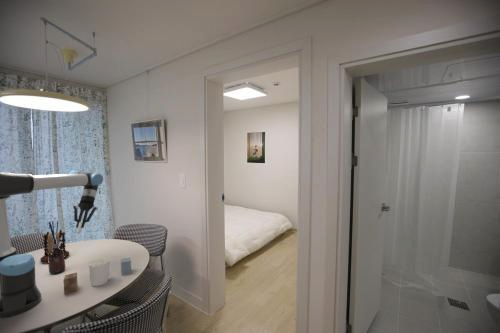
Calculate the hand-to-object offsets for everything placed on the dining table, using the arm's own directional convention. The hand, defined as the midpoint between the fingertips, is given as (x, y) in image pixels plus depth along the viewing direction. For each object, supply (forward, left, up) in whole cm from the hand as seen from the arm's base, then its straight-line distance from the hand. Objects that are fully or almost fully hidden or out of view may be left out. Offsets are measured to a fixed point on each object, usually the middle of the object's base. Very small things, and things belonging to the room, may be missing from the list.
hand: (78, 233), depth 135 cm
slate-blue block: (+24, -19, -24) cm, 39 cm away
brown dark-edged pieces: (-16, +27, -24) cm, 39 cm away
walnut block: (-2, -23, -24) cm, 33 cm away
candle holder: (+11, -23, -24) cm, 35 cm away
